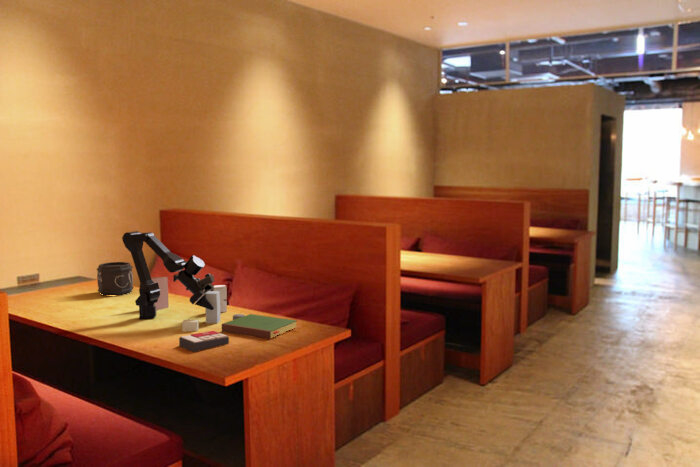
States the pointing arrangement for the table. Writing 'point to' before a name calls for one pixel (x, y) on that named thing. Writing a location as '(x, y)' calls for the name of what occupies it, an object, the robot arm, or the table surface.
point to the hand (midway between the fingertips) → (216, 306)
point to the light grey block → (214, 300)
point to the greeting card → (162, 292)
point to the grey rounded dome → (237, 316)
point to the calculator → (203, 340)
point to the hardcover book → (258, 326)
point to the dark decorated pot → (115, 278)
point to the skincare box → (222, 297)
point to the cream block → (190, 325)
